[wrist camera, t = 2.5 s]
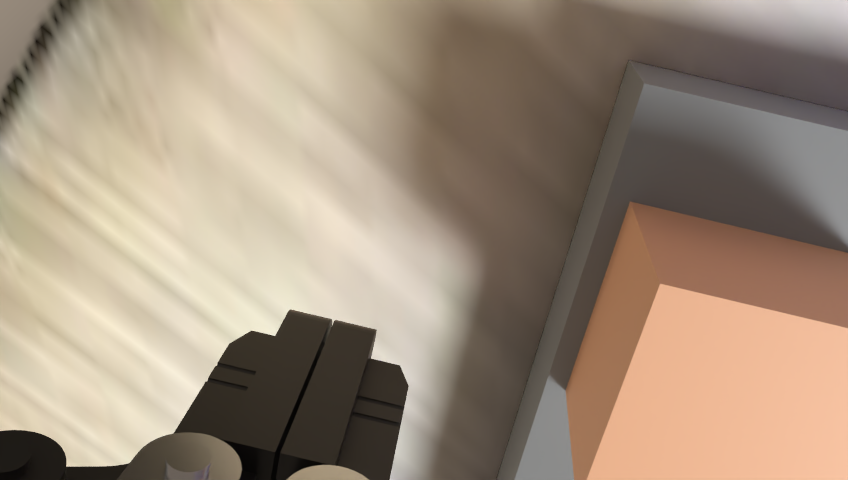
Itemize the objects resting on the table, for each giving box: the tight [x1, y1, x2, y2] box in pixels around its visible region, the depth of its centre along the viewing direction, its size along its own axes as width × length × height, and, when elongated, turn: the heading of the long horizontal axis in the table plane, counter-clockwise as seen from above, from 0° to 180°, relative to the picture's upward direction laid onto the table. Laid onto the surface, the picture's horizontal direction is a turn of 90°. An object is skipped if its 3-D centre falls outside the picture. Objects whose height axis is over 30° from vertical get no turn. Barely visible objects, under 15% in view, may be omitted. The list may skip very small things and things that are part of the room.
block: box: [566, 202, 848, 480], centre depth 16 cm, size 5×5×4 cm
